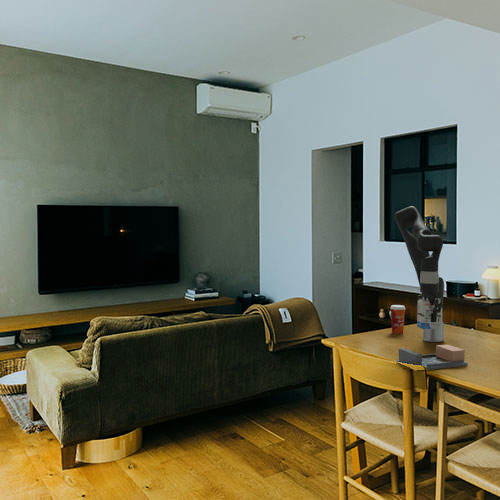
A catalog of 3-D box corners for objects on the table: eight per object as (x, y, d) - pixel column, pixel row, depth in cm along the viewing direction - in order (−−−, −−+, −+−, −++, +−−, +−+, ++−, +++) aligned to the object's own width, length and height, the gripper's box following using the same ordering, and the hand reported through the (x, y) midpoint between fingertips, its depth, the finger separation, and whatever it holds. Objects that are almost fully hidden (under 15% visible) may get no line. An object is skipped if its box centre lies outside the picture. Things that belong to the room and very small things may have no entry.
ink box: (421, 329, 218) (421, 301, 218) (416, 326, 223) (417, 299, 223) (441, 328, 219) (441, 301, 218) (435, 326, 224) (436, 299, 223)
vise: (445, 357, 233) (445, 343, 233) (467, 365, 220) (468, 350, 219) (396, 362, 225) (396, 348, 225) (416, 371, 212) (416, 355, 211)
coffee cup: (397, 335, 280) (397, 307, 279) (386, 332, 287) (386, 305, 286) (408, 333, 284) (409, 306, 283) (398, 330, 291) (398, 304, 290)
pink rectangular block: (447, 354, 231) (447, 344, 231) (464, 361, 221) (464, 350, 221) (435, 356, 229) (436, 345, 229) (452, 362, 219) (452, 351, 219)
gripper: (411, 280, 226) (411, 318, 227) (432, 284, 212) (432, 324, 213) (426, 279, 228) (425, 317, 229) (448, 283, 214) (447, 323, 215)
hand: (428, 320), depth 221 cm, fingers closed on ink box, 5 cm apart
